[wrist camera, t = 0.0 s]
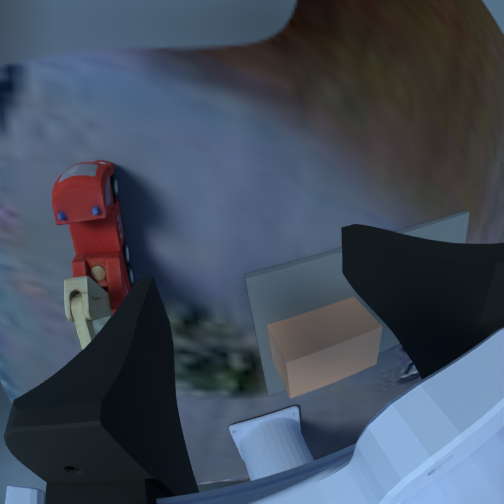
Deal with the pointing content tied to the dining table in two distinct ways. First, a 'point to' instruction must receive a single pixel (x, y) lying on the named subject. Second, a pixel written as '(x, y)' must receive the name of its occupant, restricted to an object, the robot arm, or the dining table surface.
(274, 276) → the baseplate
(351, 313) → the tan rectangular block
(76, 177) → the toy fire truck
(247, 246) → the dining table surface
